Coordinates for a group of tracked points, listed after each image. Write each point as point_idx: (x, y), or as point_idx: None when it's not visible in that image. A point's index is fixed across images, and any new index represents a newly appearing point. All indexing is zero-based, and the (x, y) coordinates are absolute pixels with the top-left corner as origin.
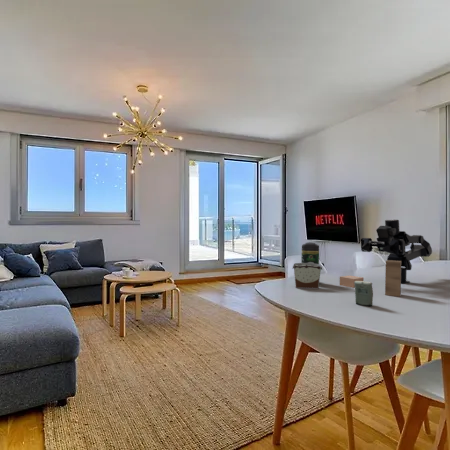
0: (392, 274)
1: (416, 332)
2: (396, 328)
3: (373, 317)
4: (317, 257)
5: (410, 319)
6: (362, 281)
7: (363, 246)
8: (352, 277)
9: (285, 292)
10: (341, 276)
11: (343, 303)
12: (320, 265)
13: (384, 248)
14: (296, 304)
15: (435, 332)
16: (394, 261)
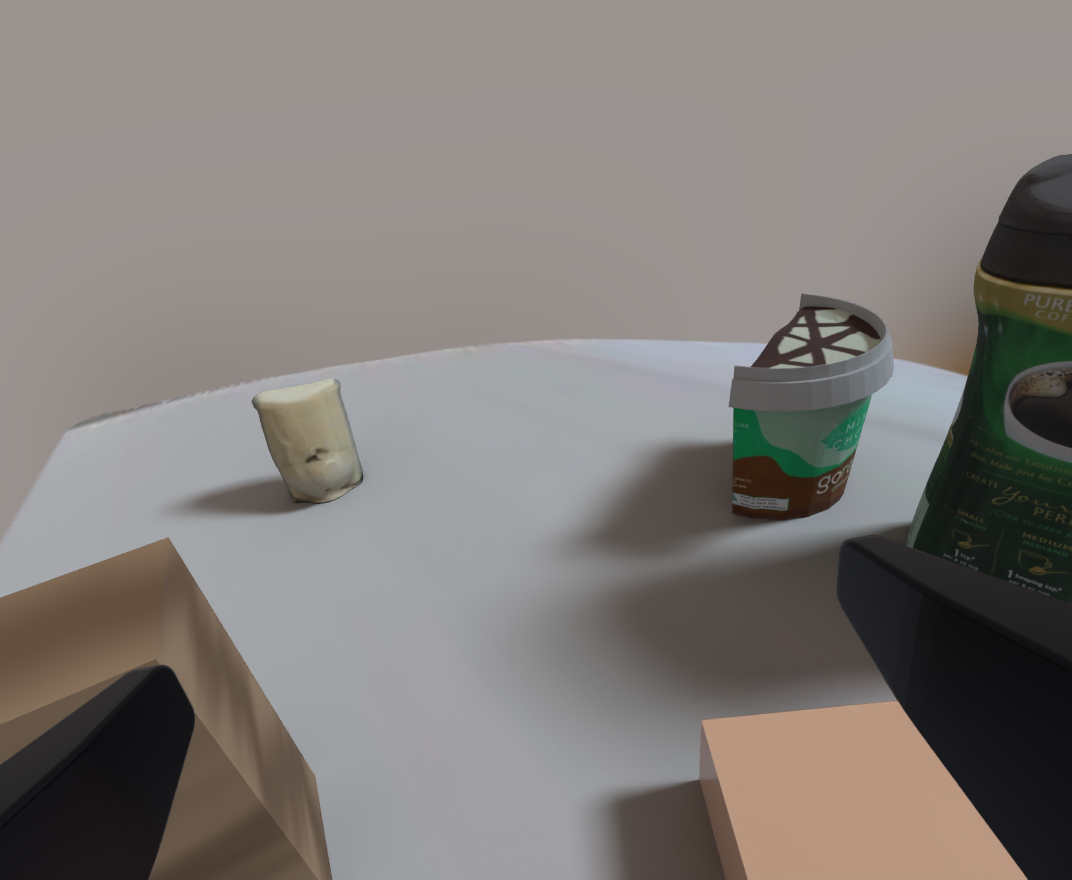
0: None
1: (124, 434)
2: (175, 422)
3: (250, 431)
4: (995, 356)
5: (132, 488)
6: (301, 390)
7: (880, 564)
8: (822, 808)
9: (681, 383)
10: None
11: (404, 448)
12: (746, 372)
13: (97, 709)
14: (498, 361)
15: (70, 461)
16: (41, 612)
